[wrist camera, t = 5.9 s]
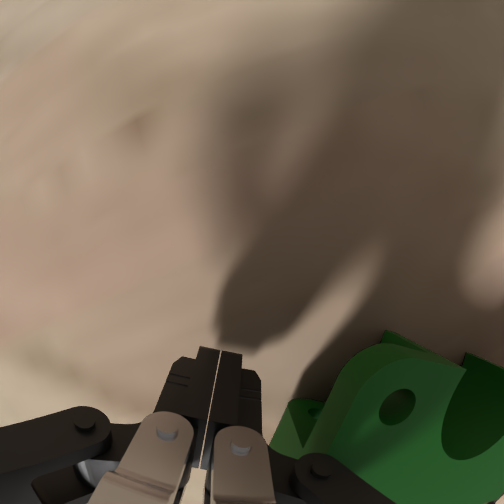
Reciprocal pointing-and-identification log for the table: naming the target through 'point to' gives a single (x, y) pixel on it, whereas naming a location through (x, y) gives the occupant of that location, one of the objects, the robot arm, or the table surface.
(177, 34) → the table surface
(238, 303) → the table surface
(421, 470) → the clamp
